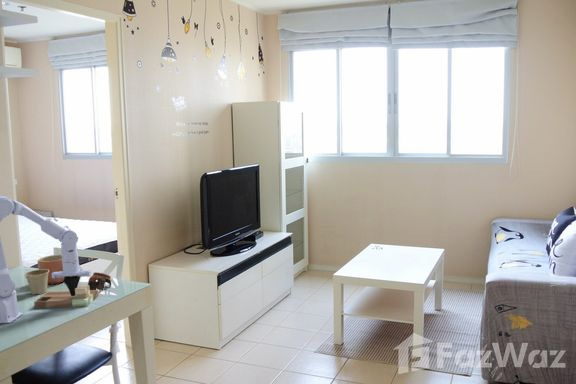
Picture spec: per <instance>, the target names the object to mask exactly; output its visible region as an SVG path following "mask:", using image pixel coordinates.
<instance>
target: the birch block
mask: <svg viewBox="0 0 576 384" xmlns="http://www.w3.org/2000/svg"><path fill="white" fill-rule="evenodd" d="M75 296H76V299H86V298H88V297H89V296H90V288H89V285H88V284H87V285H78V286H77V288H75Z"/></svg>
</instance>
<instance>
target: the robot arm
mask: <svg viewBox="0 0 576 384" xmlns="http://www.w3.org/2000/svg"><path fill="white" fill-rule="evenodd" d="M11 214H12V215H14V216H23V217H24V218H26V219H28V220H29V221H31V222H34V223H35V224H37V225H38V226H40V230H41V231H42V232H43V233H44V234H47V235H48V236H49V237H52V238H54V239H55V240H58V241H59V242H60V247H61V250H60V252H61V254H60V255H62V264H63V271H60V272H53V273H52V278H59V277H64V280H63V282H62V283H63V284H65V285H66V287H67V289H68V291H70V294H71V296H75V288H77V287H78V286H79V283H80V280H81V278H82V277H87V278H90V277H91V276H92V275H93V274H92V270H85V269H80V262H79V261H80V260H79V253H78V244H77V242H78V241H79V237H78V235H77V233H76V232H75V231H73V230H72V229H71V228H69V226H68V225H63V224H62V223H61V222H59V220H58V219H57V218H56V217H54V218H53V217H47V218H45V217H44V216H42V215H41V214H39V213H38V212H36V211H34V209H31V208H29V207H28V206H27V205H25V204H23V203H21V202H19V201H17V200H14V199H11V198H9V197H8V196H7V195H0V223H1V222H2V220H4V218H6V217H7V216H9V215H11ZM18 307H19V306H18V298H17V290H16V283H15V282H14V280H13V278H12V277H11V274H10V272H9V268H8V264H7V260H6V256H5V253H4V248H3V244H2V239H1V237H0V324H10V323H13V322H14V321H15V320H17V319H18V318H20V317H21V316H22V315H24V312H20V311H19V308H18Z"/></svg>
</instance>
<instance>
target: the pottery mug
mask: <svg viewBox="0 0 576 384" xmlns="http://www.w3.org/2000/svg"><path fill="white" fill-rule="evenodd" d="M111 278H112V276H110V275H108V274H107V273H102V272H97V271H96V272H93V274H92V275H91V276H90V277H88V282H87V285H89V288H90V290H98V291H102V290H104V288H105V287H104V286H105V284H106V283H107V284H109V285H108V286H109V288H110V287H111V286H112V280H111Z"/></svg>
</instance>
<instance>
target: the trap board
mask: <svg viewBox="0 0 576 384" xmlns="http://www.w3.org/2000/svg"><path fill="white" fill-rule="evenodd" d="M99 297H100V295H99V290H98V289H96V290H90V296H89V297H88V298H86V299H76V296H71V294H70V291H69V290H67V291H66V290H65V291H62V290H60V291H47V292H45V293H44V294H43V295H42V296H40V297H39V298H38V299H36V300H34V302H33V304H34V309H45V308H47V309H48V308H70V307H71V308H72V307H73V308H74V307H76V308H77V307H88V306H89V305H90V304H92V303H93V302H94V301H95V300H96V299H97V298H99Z"/></svg>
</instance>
